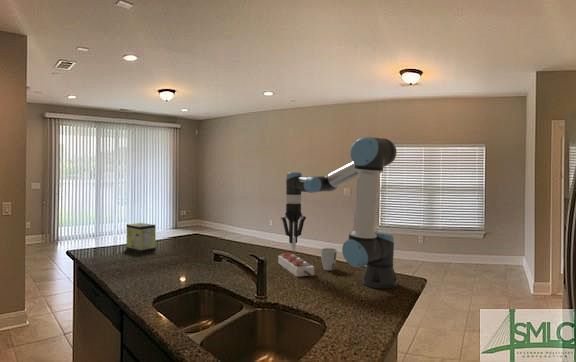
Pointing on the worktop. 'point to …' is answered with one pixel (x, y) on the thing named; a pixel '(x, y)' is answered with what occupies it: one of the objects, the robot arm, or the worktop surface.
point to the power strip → (296, 266)
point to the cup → (328, 258)
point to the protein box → (141, 237)
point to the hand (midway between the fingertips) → (293, 249)
